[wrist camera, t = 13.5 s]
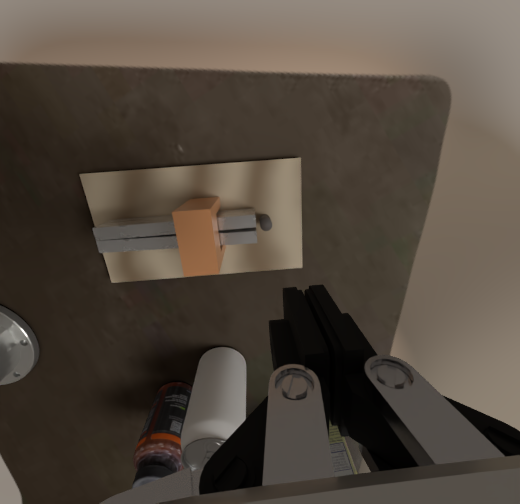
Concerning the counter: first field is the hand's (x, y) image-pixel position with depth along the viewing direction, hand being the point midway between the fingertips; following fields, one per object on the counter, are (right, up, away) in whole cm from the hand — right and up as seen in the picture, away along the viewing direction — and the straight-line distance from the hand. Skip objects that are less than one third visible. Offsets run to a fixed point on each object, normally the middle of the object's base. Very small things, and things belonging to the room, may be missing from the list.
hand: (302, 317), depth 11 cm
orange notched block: (-7, +6, +17) cm, 19 cm away
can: (-7, -13, +25) cm, 29 cm away
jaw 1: (-10, +6, +16) cm, 20 cm away
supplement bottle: (-14, -18, +26) cm, 35 cm away
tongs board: (-8, +6, +18) cm, 20 cm away
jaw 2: (-10, +5, +17) cm, 20 cm away
